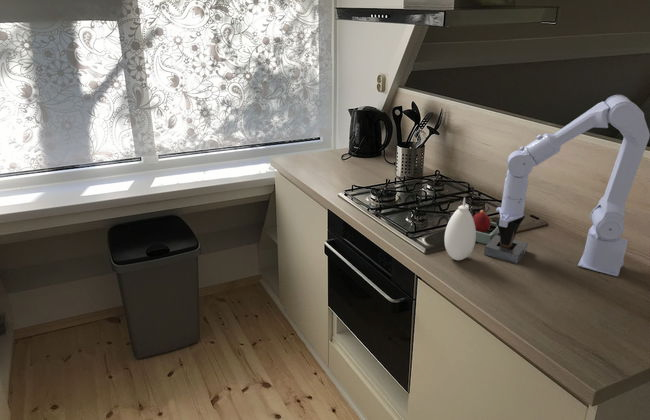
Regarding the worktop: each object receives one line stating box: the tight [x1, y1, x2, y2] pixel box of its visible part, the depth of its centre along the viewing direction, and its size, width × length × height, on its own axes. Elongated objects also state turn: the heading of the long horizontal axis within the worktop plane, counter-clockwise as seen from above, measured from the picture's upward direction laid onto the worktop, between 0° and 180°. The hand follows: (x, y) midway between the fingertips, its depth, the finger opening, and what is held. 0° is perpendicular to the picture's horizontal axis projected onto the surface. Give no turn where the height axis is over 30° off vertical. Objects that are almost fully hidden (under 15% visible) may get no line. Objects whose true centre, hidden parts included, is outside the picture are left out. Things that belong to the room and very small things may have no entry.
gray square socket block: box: [483, 235, 529, 265], centre depth 142 cm, size 9×9×2 cm
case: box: [475, 221, 499, 245], centre depth 152 cm, size 10×10×3 cm
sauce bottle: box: [444, 197, 476, 261], centre depth 135 cm, size 8×8×18 cm
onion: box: [472, 209, 492, 233], centre depth 151 cm, size 6×6×8 cm
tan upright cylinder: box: [500, 233, 515, 250], centre depth 140 cm, size 3×3×7 cm
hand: (507, 241), depth 141 cm, fingers closed on tan upright cylinder, 3 cm apart
